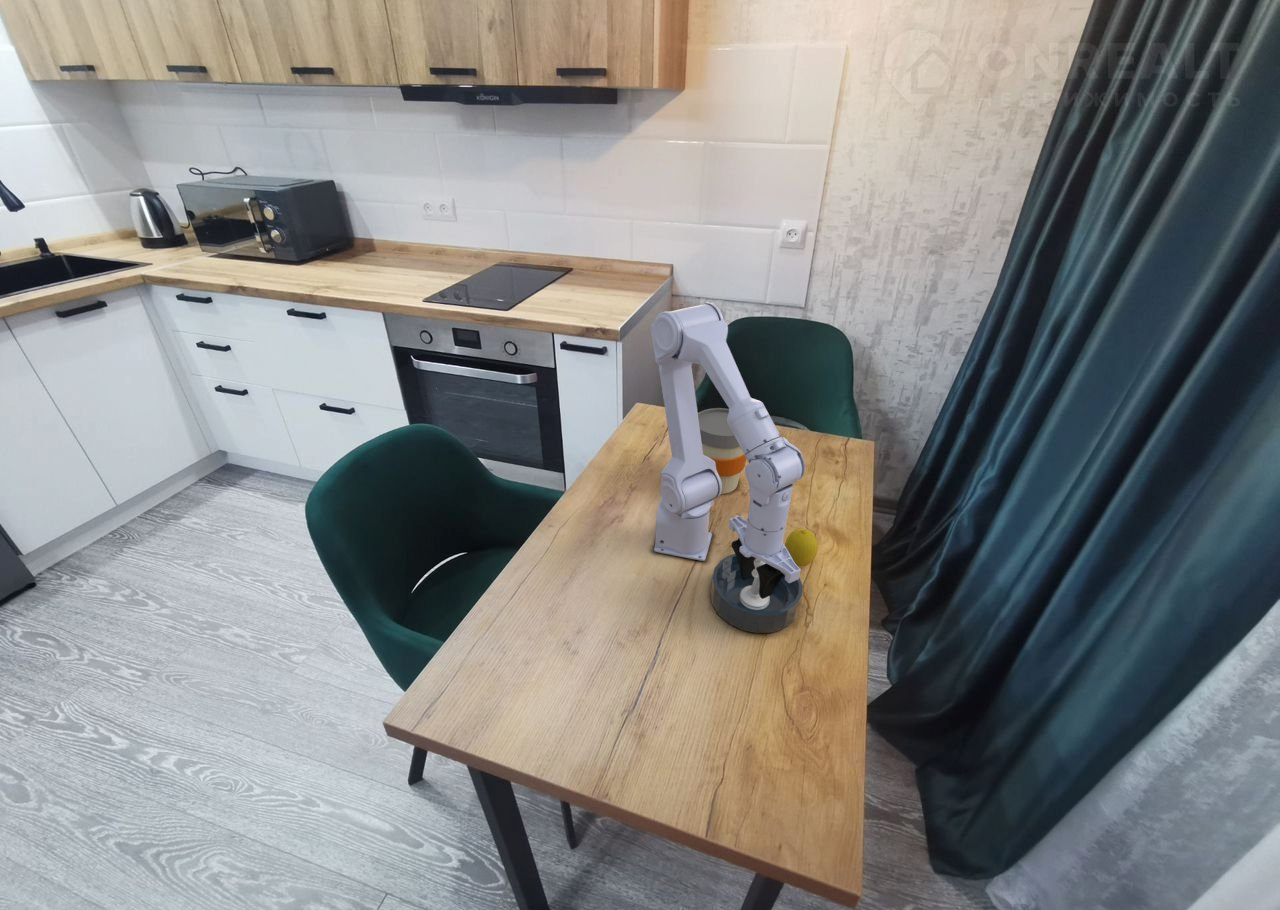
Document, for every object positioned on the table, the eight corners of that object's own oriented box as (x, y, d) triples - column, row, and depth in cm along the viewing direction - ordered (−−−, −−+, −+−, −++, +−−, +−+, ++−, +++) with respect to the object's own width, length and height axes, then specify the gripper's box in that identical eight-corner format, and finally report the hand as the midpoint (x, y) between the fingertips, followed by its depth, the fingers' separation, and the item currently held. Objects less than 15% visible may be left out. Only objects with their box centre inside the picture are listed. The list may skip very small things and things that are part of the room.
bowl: (703, 624, 89) (705, 603, 87) (718, 564, 101) (720, 544, 98) (796, 644, 86) (800, 623, 83) (799, 580, 97) (803, 560, 95)
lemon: (814, 578, 98) (822, 542, 94) (781, 573, 99) (788, 538, 95) (812, 556, 103) (820, 522, 98) (781, 552, 103) (787, 518, 99)
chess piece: (751, 614, 90) (758, 567, 85) (733, 594, 94) (739, 548, 88) (775, 603, 92) (784, 557, 87) (757, 584, 96) (764, 538, 90)
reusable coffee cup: (754, 477, 125) (763, 417, 117) (731, 506, 115) (738, 442, 108) (704, 460, 130) (708, 402, 122) (677, 486, 121) (680, 425, 113)
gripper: (716, 502, 88) (710, 567, 95) (778, 557, 77) (766, 626, 84) (752, 489, 91) (743, 553, 98) (817, 541, 80) (801, 609, 87)
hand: (756, 586), depth 91 cm, fingers open, 4 cm apart
